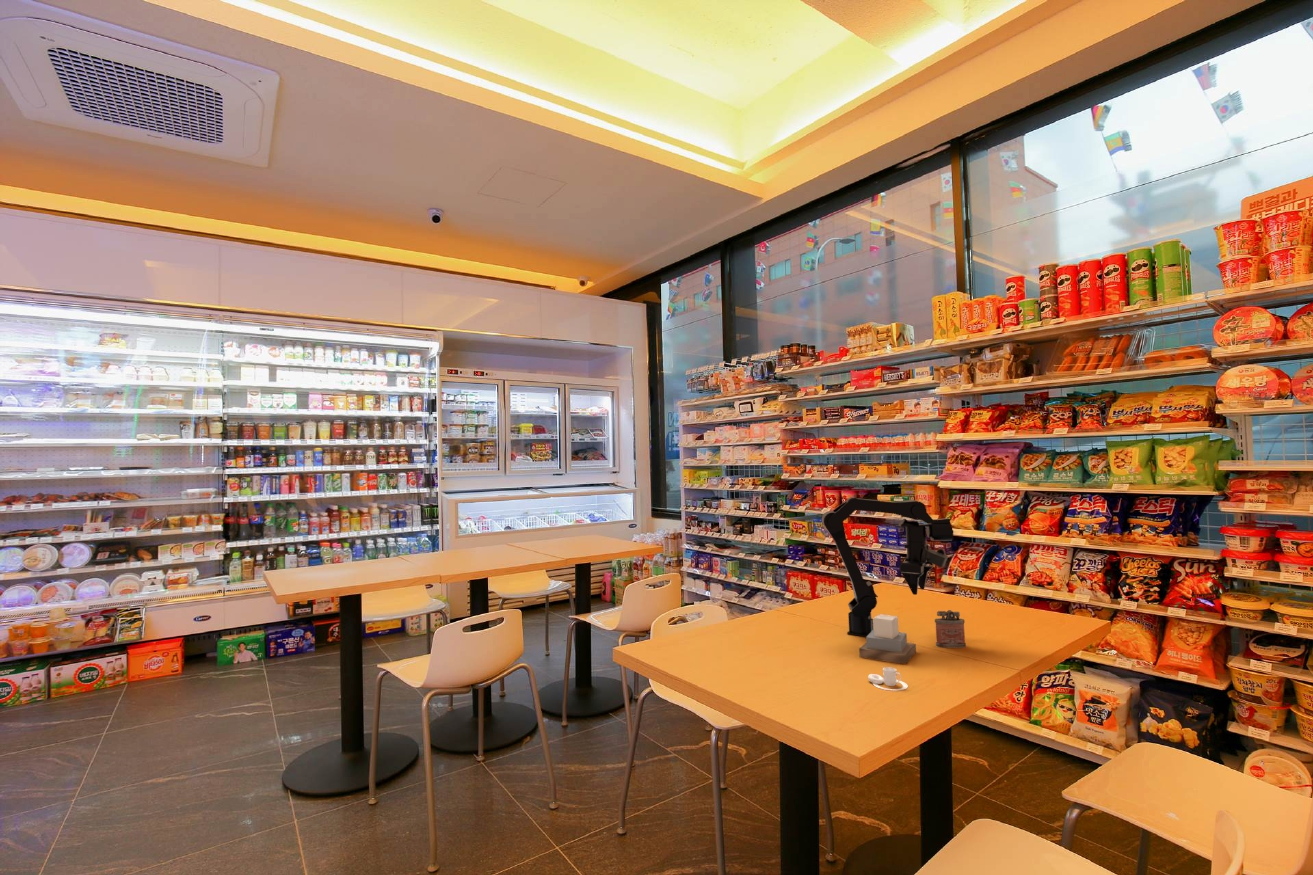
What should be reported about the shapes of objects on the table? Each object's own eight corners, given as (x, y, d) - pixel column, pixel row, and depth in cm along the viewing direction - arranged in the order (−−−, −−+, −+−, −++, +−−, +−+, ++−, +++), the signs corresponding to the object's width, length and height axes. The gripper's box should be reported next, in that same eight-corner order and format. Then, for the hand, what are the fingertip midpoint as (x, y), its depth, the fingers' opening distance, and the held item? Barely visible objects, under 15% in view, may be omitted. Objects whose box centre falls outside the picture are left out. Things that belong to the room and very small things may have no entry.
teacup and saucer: (863, 682, 151) (862, 666, 151) (888, 677, 154) (887, 661, 154) (889, 694, 143) (888, 677, 143) (915, 688, 146) (914, 671, 146)
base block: (859, 659, 169) (859, 648, 169) (872, 648, 179) (872, 637, 179) (905, 666, 162) (904, 655, 162) (916, 654, 172) (915, 643, 172)
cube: (874, 635, 170) (873, 617, 171) (880, 631, 174) (879, 614, 174) (892, 638, 167) (891, 620, 167) (898, 634, 171) (897, 616, 171)
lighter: (963, 643, 178) (961, 609, 179) (967, 647, 175) (965, 611, 175) (934, 644, 179) (932, 609, 179) (938, 647, 176) (936, 612, 176)
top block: (866, 648, 169) (866, 637, 169) (873, 639, 177) (873, 629, 177) (901, 652, 165) (900, 641, 165) (906, 643, 172) (906, 632, 172)
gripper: (937, 546, 178) (940, 600, 177) (950, 538, 193) (953, 588, 192) (897, 544, 185) (900, 596, 184) (913, 537, 200) (915, 585, 199)
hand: (918, 591), depth 190 cm, fingers open, 9 cm apart
